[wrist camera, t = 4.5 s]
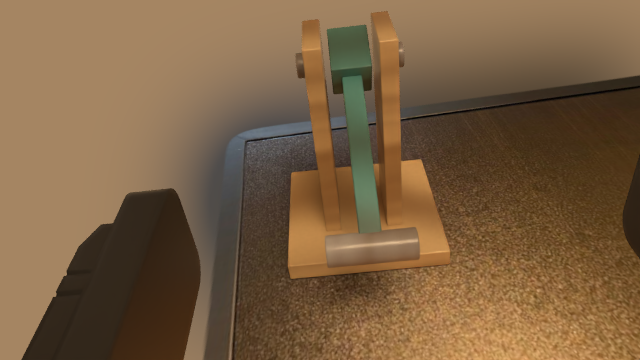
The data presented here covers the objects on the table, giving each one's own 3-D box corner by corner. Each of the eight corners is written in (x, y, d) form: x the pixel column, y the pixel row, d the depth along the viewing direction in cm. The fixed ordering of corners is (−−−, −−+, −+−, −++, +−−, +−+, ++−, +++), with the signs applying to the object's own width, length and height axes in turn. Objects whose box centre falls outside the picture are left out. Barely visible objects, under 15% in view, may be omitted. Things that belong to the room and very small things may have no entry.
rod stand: (450, 264, 32) (461, 55, 24) (290, 279, 33) (248, 79, 25) (421, 171, 41) (422, -10, 32) (293, 184, 41) (262, 9, 33)
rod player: (417, 265, 26) (422, 252, 24) (329, 273, 26) (325, 261, 24) (384, 48, 31) (385, 21, 29) (311, 57, 31) (307, 31, 29)
